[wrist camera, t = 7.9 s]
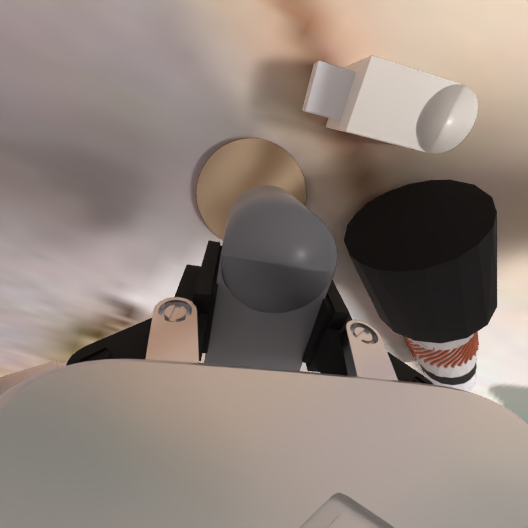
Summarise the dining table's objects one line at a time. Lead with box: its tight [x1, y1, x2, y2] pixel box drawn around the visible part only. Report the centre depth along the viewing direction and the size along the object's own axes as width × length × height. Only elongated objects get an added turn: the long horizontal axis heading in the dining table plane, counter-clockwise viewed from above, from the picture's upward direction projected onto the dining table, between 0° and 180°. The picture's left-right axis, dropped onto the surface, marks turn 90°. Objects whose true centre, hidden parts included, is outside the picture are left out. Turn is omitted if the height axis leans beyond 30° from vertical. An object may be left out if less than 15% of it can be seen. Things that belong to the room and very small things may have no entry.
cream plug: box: [302, 56, 478, 154], centre depth 18 cm, size 11×4×5 cm, turn 77°
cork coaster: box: [196, 138, 307, 240], centre depth 23 cm, size 10×10×1 cm
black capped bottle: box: [344, 180, 497, 392], centre depth 29 cm, size 10×34×10 cm, turn 29°
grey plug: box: [204, 185, 337, 371], centre depth 12 cm, size 11×4×5 cm, turn 168°
